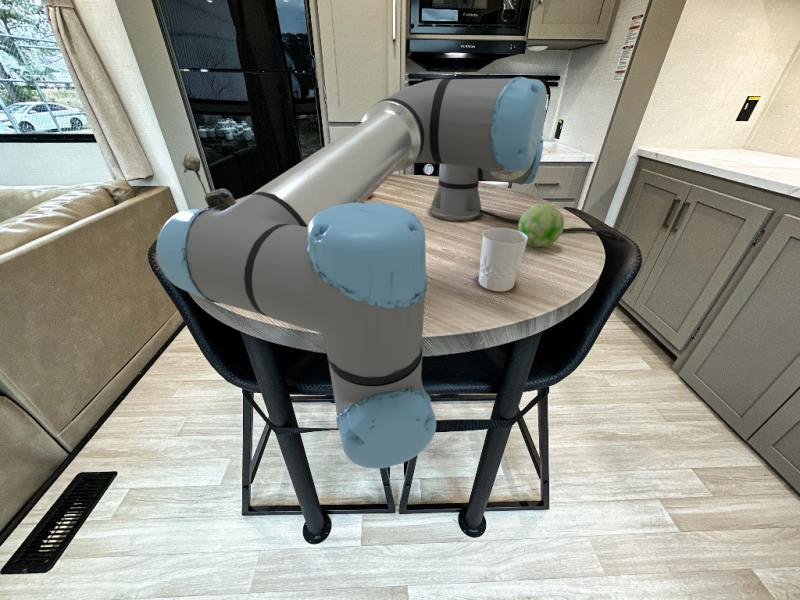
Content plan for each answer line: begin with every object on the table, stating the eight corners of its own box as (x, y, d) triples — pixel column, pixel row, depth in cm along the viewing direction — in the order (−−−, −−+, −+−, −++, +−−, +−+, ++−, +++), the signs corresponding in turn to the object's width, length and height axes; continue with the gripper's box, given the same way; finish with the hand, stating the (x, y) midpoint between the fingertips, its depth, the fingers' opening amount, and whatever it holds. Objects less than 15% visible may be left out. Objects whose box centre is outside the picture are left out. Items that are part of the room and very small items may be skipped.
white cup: (471, 274, 67) (477, 228, 61) (508, 272, 67) (517, 226, 62) (482, 294, 60) (490, 244, 55) (523, 292, 61) (535, 243, 55)
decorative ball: (539, 257, 73) (551, 214, 68) (506, 242, 80) (514, 202, 75) (566, 248, 78) (579, 207, 72) (532, 234, 85) (541, 196, 79)
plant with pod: (240, 243, 80) (215, 156, 69) (197, 241, 81) (165, 154, 70) (256, 231, 86) (235, 149, 75) (216, 229, 87) (190, 148, 76)
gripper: (248, 370, 35) (262, 278, 52) (457, 331, 41) (408, 260, 58) (228, 314, 31) (250, 235, 48) (464, 280, 37) (409, 220, 54)
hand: (337, 248), depth 53 cm, fingers open, 13 cm apart
